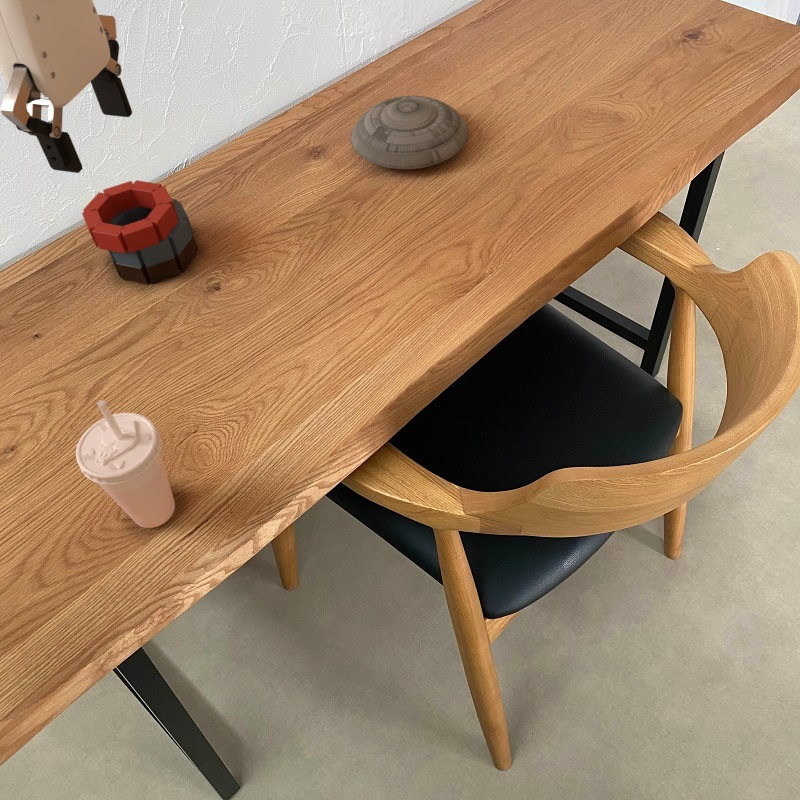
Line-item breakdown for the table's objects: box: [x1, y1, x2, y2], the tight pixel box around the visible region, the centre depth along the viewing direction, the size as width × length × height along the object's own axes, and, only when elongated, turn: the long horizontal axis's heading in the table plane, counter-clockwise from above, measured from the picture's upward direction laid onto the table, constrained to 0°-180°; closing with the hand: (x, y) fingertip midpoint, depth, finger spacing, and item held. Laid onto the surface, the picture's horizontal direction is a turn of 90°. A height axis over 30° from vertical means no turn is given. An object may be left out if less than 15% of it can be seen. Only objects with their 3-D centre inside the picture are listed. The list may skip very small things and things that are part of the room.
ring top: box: [81, 179, 179, 253], centre depth 86 cm, size 9×9×2 cm
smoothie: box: [75, 399, 176, 529], centre depth 64 cm, size 6×6×14 cm
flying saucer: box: [350, 95, 469, 170], centre depth 100 cm, size 15×15×6 cm
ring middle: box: [108, 198, 194, 268], centre depth 88 cm, size 9×9×2 cm
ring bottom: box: [107, 233, 199, 285], centre depth 90 cm, size 9×9×2 cm
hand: (93, 141), depth 78 cm, fingers open, 9 cm apart
